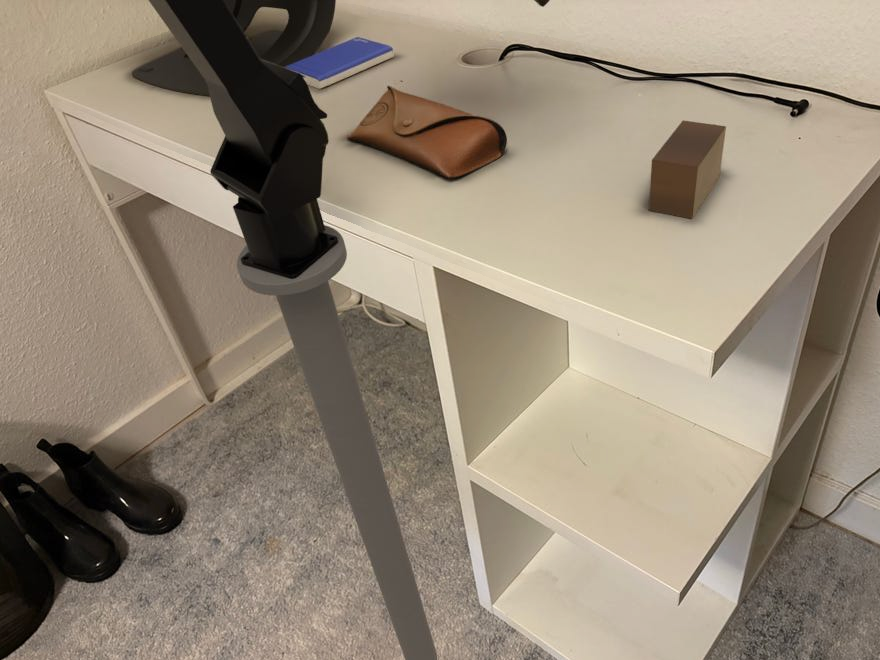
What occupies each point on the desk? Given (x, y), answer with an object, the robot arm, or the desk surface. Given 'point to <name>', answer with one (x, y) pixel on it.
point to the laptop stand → (301, 38)
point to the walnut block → (686, 168)
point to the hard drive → (341, 61)
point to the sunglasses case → (431, 134)
